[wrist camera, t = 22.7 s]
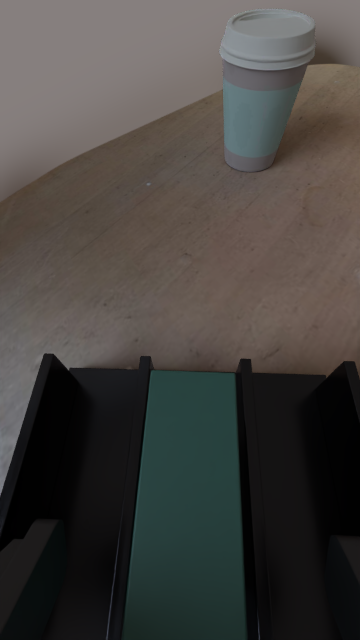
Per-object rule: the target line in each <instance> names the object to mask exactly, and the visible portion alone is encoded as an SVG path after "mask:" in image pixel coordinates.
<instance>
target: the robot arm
mask: <svg viewBox="0 0 360 640" xmlns="http://www.w3.org/2000/svg"><path fill="white" fill-rule="evenodd" d="M66 568H67V549H66V540H65V530H64V522H63V520H57V519H36V520H35V521H34V522H33V524H32V525H31V527H30V529H29V530H28V532H27V534H26V535H25V537H24V539H13V540H12V541H11V542H10V543H9V544H8V545H7V546H6V547H5V548H4V549H3V550H2V551H1V552H0V640H40V639H41V637H42V634H43V632H44V629H45V627H46V624H47V622H48V619H49V617H50V614H51V612H52V609H53V607H54V604H55V602H56V599H57V597H58V594H59V591H60V589H61V586H62V584H63V581H64V577H65V573H66ZM324 580H325V588H326V593H327V597H328V601H329V604H330V606H331V609H332V612H333V614H334V617H335V620H336V622H337V625H338V628H339V630H340V633H341V636H342V638H343V640H360V537H359V536H345V535H331V536H330V540H329V546H328V553H327V560H326V566H325V574H324Z"/></svg>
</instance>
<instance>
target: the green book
mask: <svg viewBox="0 0 360 640" xmlns="http://www.w3.org/2000/svg"><path fill="white" fill-rule="evenodd" d="M121 640H247V618H246V596H245V574H244V552H243V529H242V507H241V485H240V463H239V441H238V418H237V396H236V375H235V373H223V372H196V371H169V370H152V371H151V375H150V384H149V393H148V402H147V411H146V420H145V430H144V439H143V448H142V457H141V466H140V475H139V484H138V493H137V503H136V512H135V521H134V530H133V539H132V548H131V557H130V566H129V575H128V585H127V594H126V603H125V612H124V621H123V630H122V639H121Z"/></svg>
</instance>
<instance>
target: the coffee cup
mask: <svg viewBox="0 0 360 640" xmlns="http://www.w3.org/2000/svg"><path fill="white" fill-rule="evenodd" d="M315 46H316V41H315V21H314V20H313V19H312V18H311V17H309V16H308V15H305V14H303V13H299V12H296V11H291V10H283V9H257V10H250V11H246V12H242V13H239V14H237V15H235V16H233V17H232V18H230V19H229V21H228V23H227V27H226V31H225V34H224V36H223V38H222V40H221V48H220V50H219V52H220V55H221V57H222V58H223V103H224V150H225V161H226V162H227V164H228V165H229V166H231V167H232V168H234V169H236V170H240V171H244V172H257V171H261V170H264V169H266V168H268V167H269V166H271V165H272V163H273V161H274V158H275V155H276V153H277V150H278V147H279V144H280V142H281V139H282V136H283V133H284V130H285V127H286V125H287V122H288V119H289V116H290V113H291V111H292V108H293V105H294V102H295V99H296V97H297V94H298V91H299V88H300V85H301V82H302V80H303V77H304V74H305V71H306V68H307V65H308V62H309V61H310V60H311V59H312V58H313V56H314V54H315V51H314V48H315Z"/></svg>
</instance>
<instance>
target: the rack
mask: <svg viewBox="0 0 360 640" xmlns="http://www.w3.org/2000/svg"><path fill="white" fill-rule="evenodd" d="M152 370H154V367H153V364H152V360H151V357H150V356H141V357H140V364H139V370H131V369H96V368H70V369H69V370H68V369H67V368H66V367H65V366H64V365H63V364H62V363H61V361H60V360H59V359H58V358H57V357H56V356H55V355H54V354H44V355H43V359H42V362H41V365H40V369H39V372H38V375H37V378H36V382H35V385H34V388H33V391H32V395H31V398H30V401H29V404H28V408H27V411H26V414H25V418H24V421H23V424H22V427H21V431H20V434H19V437H18V440H17V444H16V447H15V450H14V453H13V457H12V460H11V463H10V467H9V470H8V473H7V476H6V480H5V483H4V486H3V489H2V493H1V496H0V552H1V551H2V550H3V549H4V548H5V547H6V546H7V545H8V544H9V543H10V542H11V541H12V540H13V539H24V537H25V535H26V534H27V532H28V530H29V529H30V527H31V525H32V524H33V522H34V521H35V520H36V519H57V520H63V522H64V530H65V540H66V549H67V568H66V573H65V577H64V581H63V584H62V586H61V589H60V591H59V594H58V597H57V599H56V602H55V604H54V607H53V609H52V612H51V614H50V617H49V619H48V622H47V624H46V627H45V629H44V632H43V634H42V637H41V639H40V640H121V639H122V630H123V621H124V612H125V603H126V594H127V585H128V575H129V566H130V557H131V548H132V539H133V530H134V521H135V512H136V503H137V493H138V484H139V475H140V466H141V457H142V448H143V439H144V430H145V420H146V411H147V402H148V393H149V384H150V375H151V371H152ZM196 372H201V371H196ZM223 373H235V375H236V396H237V418H238V441H239V463H240V485H241V507H242V529H243V552H244V574H245V596H246V618H247V640H343V638H342V636H341V633H340V630H339V628H338V625H337V622H336V620H335V617H334V614H333V612H332V609H331V606H330V604H329V601H328V597H327V593H326V588H325V580H324V574H325V566H326V560H327V553H328V546H329V540H330V536H331V535H345V536H359V537H360V379H359V375H358V372H357V368H356V364H355V362H354V361H344V362H343V363H342V364H341V365H339V366H338V367H337V368H336V369H335V370H334V371H333V372H332V373H331V374H330V375H329V376H328V377H327V378H326V375H307V374H271V373H252V366H251V359H240V362H239V365H238V368H237V371H236V372H223Z"/></svg>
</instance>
